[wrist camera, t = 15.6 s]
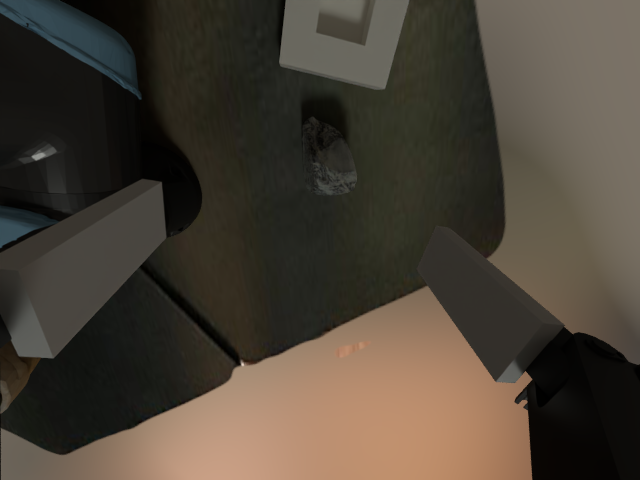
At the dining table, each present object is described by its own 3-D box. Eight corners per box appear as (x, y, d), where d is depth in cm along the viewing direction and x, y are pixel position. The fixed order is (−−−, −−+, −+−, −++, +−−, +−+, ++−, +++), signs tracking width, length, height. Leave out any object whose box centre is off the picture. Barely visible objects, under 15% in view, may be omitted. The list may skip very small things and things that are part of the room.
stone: (291, 167, 32) (364, 191, 34) (309, 101, 35) (376, 127, 37) (282, 194, 42) (340, 212, 44) (297, 140, 44) (351, 160, 46)
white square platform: (280, 66, 36) (279, 62, 32) (296, -79, 29) (296, -103, 26) (376, 89, 38) (384, 88, 35) (410, -41, 32) (424, -58, 28)
